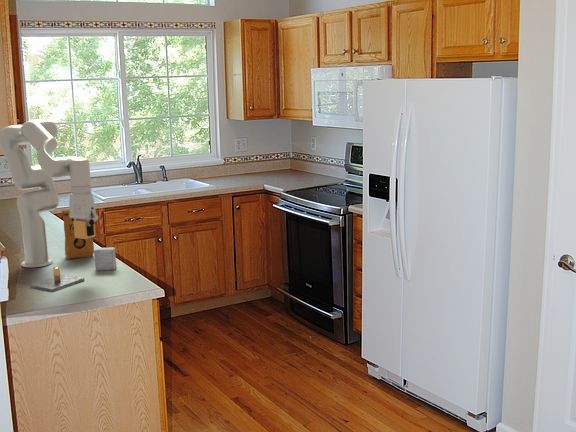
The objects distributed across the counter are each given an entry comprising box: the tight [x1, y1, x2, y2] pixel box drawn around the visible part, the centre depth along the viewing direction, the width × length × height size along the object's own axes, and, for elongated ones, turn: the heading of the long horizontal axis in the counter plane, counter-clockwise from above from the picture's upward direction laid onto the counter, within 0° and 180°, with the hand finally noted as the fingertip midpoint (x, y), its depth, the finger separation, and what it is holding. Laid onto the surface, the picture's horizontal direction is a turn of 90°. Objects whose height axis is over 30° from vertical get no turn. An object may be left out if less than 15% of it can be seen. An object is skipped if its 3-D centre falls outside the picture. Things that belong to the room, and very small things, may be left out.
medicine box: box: [93, 246, 117, 271], centre depth 291 cm, size 8×4×9 cm, turn 92°
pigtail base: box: [29, 266, 85, 292], centre depth 271 cm, size 12×16×6 cm
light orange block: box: [73, 219, 96, 239], centre depth 277 cm, size 6×6×7 cm
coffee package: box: [61, 209, 95, 259], centre depth 310 cm, size 10×12×22 cm
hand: (84, 234), depth 278 cm, fingers closed on light orange block, 5 cm apart
